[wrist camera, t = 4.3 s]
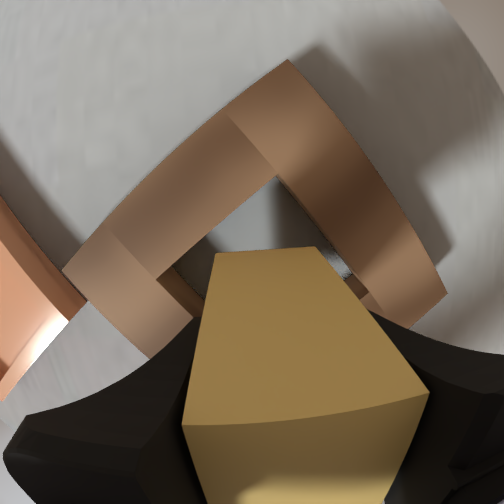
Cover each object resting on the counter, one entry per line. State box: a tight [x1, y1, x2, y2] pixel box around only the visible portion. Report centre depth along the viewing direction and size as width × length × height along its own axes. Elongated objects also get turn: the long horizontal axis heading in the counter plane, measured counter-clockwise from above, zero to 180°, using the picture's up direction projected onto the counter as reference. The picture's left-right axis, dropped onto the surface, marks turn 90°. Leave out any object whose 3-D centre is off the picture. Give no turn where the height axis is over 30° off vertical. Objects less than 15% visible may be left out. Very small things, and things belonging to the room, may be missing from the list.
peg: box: [182, 246, 430, 504], centre depth 9 cm, size 4×4×9 cm
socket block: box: [61, 59, 448, 359], centre depth 15 cm, size 14×14×2 cm
